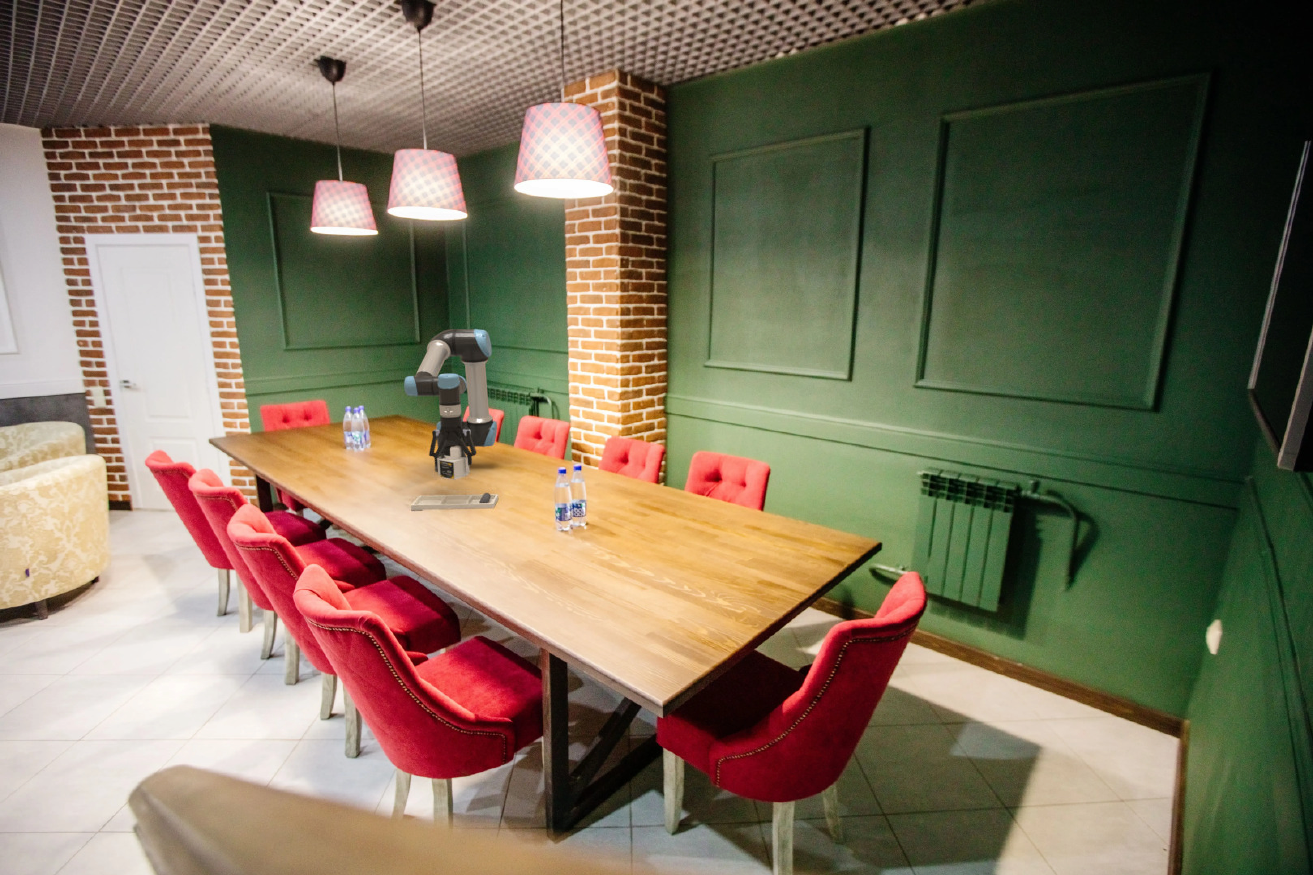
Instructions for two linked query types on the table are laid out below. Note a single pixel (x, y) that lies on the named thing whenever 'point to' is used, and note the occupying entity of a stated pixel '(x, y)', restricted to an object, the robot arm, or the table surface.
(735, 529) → the table surface
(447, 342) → the robot arm
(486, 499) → the grey cylinder
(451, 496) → the organiser
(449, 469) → the medicine bottle
